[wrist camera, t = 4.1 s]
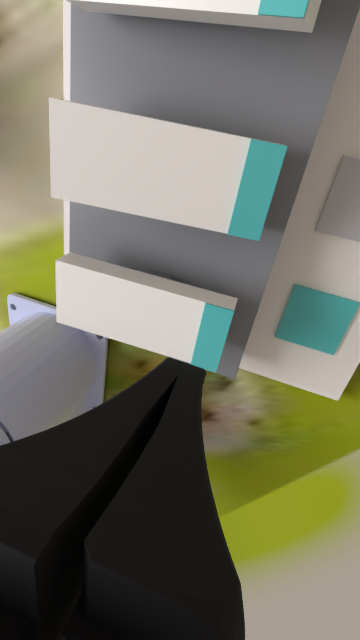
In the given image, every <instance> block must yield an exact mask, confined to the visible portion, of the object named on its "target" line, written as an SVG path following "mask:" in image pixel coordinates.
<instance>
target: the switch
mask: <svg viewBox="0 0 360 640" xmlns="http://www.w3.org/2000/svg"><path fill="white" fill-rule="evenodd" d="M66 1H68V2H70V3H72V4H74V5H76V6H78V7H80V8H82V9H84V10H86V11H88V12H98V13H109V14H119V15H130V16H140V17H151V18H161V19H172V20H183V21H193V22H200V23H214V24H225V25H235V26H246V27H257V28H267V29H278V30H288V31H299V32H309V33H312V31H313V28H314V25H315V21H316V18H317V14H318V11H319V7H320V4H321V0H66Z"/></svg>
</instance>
